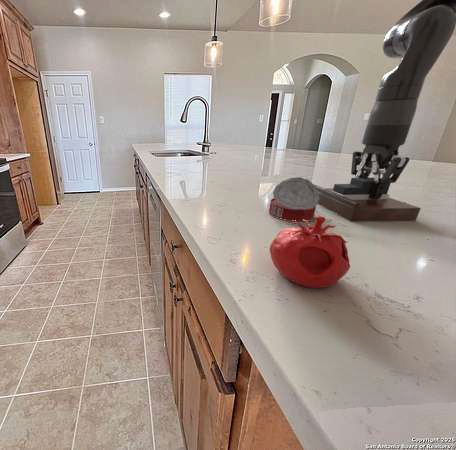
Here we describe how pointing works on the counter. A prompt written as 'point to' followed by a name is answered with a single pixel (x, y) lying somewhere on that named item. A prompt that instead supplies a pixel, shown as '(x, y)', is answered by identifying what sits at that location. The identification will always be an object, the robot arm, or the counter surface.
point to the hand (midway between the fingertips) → (365, 195)
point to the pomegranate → (310, 254)
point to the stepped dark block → (359, 189)
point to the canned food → (294, 200)
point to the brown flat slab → (367, 207)
